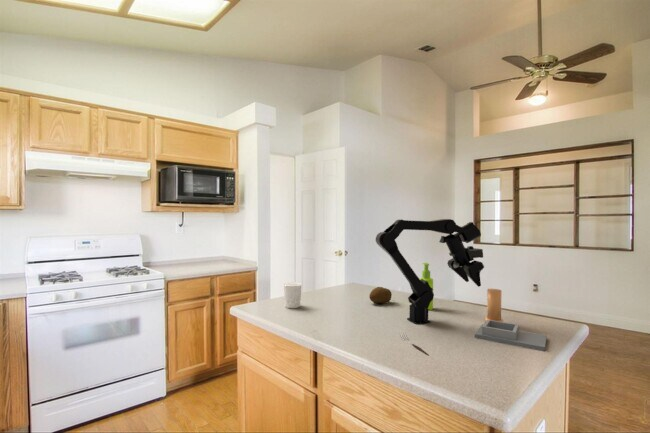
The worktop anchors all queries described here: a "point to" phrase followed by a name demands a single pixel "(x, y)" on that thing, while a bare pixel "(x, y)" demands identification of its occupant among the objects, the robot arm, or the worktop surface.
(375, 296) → the potato
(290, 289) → the white cup
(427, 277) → the soap dispenser
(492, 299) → the orange knob handle
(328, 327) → the worktop surface
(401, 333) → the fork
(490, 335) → the housing
